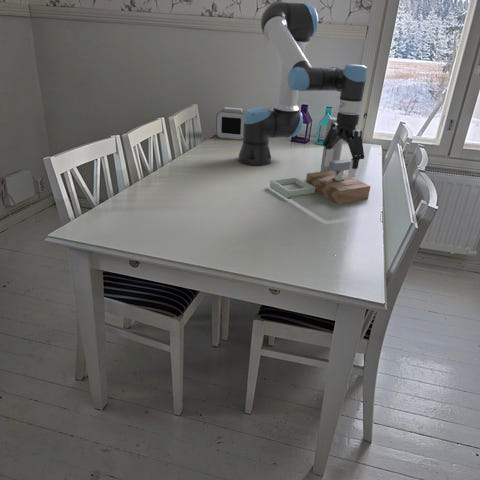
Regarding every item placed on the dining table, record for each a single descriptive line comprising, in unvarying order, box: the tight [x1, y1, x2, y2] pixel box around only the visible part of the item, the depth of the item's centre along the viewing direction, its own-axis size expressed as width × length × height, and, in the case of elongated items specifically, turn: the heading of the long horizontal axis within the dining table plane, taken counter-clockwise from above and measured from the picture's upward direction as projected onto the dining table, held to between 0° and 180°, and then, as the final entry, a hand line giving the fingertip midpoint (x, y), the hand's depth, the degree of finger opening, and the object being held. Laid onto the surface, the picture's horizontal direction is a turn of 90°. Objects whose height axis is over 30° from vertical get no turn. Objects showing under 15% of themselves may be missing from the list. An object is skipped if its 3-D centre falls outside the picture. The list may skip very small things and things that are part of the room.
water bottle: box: [319, 116, 344, 172], centre depth 170 cm, size 9×8×25 cm
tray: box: [269, 176, 316, 200], centre depth 160 cm, size 13×12×3 cm
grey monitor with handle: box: [215, 106, 247, 141], centre depth 231 cm, size 16×11×16 cm
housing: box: [305, 171, 371, 205], centre depth 158 cm, size 20×14×6 cm
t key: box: [329, 159, 351, 182], centre depth 157 cm, size 3×8×12 cm, turn 118°
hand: (339, 171), depth 156 cm, fingers open, 13 cm apart
